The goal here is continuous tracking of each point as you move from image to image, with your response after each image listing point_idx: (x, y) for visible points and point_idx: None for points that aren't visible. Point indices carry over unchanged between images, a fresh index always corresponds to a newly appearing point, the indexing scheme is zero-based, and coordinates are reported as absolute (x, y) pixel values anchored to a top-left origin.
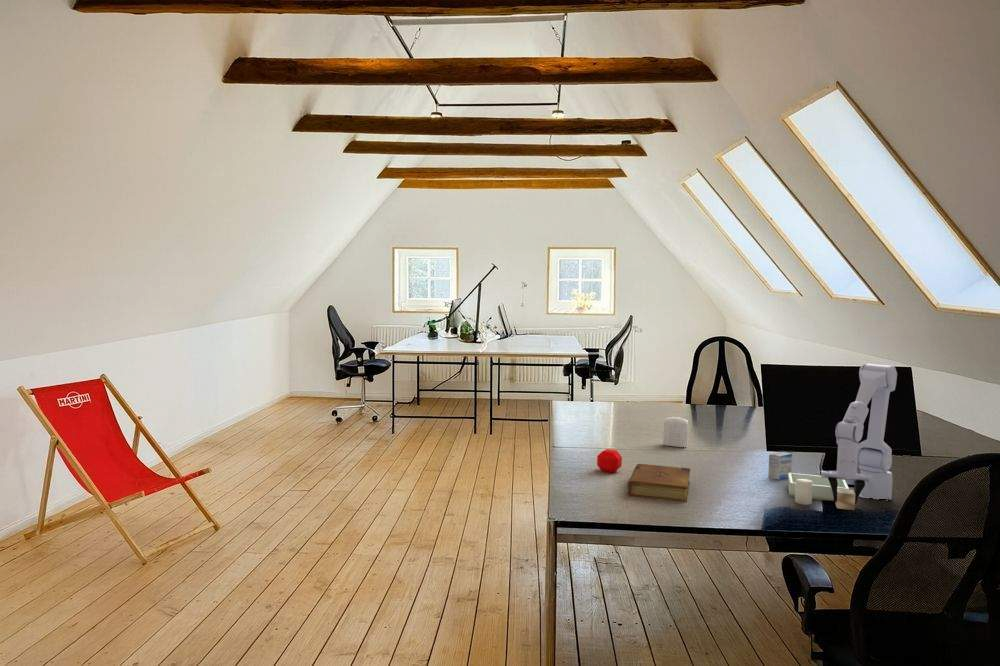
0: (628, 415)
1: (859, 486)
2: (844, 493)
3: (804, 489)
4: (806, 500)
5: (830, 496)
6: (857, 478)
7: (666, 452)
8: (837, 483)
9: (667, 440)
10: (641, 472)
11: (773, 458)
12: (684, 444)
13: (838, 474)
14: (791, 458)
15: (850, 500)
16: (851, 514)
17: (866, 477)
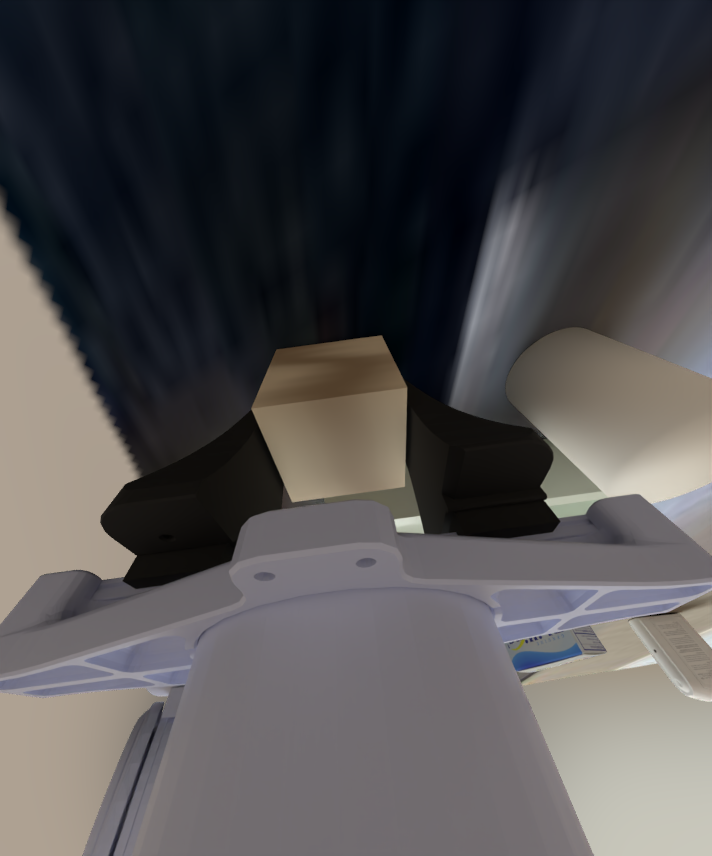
0: (627, 658)
1: (183, 476)
2: (347, 394)
3: (671, 371)
4: (574, 341)
5: (406, 472)
6: (168, 588)
7: (709, 592)
8: (449, 444)
9: (685, 626)
10: None
11: (588, 637)
12: (647, 625)
13: (496, 591)
14: (510, 650)
15: (297, 373)
16: (279, 237)
17: (43, 648)
